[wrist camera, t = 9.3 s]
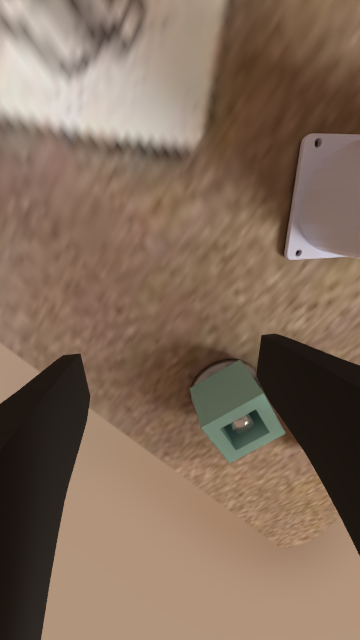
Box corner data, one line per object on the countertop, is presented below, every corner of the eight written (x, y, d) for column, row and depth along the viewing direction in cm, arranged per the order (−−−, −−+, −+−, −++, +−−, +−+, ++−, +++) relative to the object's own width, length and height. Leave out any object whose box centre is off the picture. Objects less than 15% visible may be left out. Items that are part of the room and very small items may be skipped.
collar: (240, 359, 22) (263, 393, 18) (260, 396, 24) (285, 433, 20) (189, 388, 22) (200, 427, 18) (214, 421, 24) (229, 463, 20)
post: (262, 355, 23) (289, 386, 19) (254, 410, 25) (276, 448, 21) (190, 363, 22) (201, 398, 18) (190, 420, 25) (200, 460, 20)
